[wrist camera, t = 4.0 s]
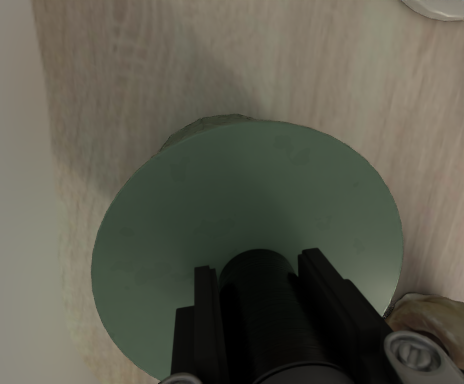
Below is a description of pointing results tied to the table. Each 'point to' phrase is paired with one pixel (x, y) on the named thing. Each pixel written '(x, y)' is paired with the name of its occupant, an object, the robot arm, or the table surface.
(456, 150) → the table surface
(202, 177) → the tin lid
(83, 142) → the table surface
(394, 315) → the beige rounded hollow lump
